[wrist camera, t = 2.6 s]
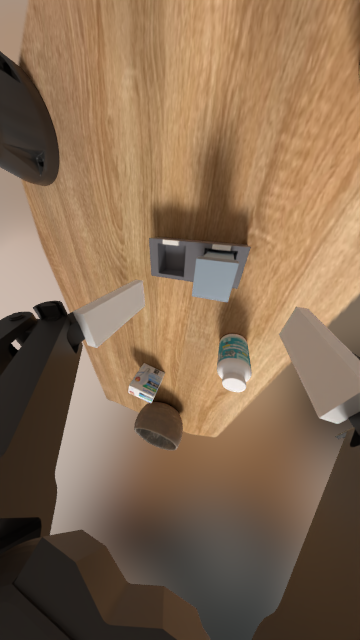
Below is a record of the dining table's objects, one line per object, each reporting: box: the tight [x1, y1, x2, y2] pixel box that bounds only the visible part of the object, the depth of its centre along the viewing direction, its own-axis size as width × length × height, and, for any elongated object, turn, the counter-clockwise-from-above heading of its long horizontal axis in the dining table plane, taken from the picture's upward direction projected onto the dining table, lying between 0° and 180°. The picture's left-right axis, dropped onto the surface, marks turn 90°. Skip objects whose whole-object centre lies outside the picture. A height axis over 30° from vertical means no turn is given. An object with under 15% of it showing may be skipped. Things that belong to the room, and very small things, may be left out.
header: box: [149, 237, 251, 289], centre depth 27 cm, size 7×18×6 cm, turn 86°
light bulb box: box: [128, 363, 165, 403], centre depth 56 cm, size 11×7×11 cm, turn 73°
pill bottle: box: [217, 334, 252, 392], centre depth 33 cm, size 8×7×14 cm
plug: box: [192, 249, 239, 302], centre depth 23 cm, size 5×5×13 cm
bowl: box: [134, 402, 183, 450], centre depth 70 cm, size 24×24×15 cm
